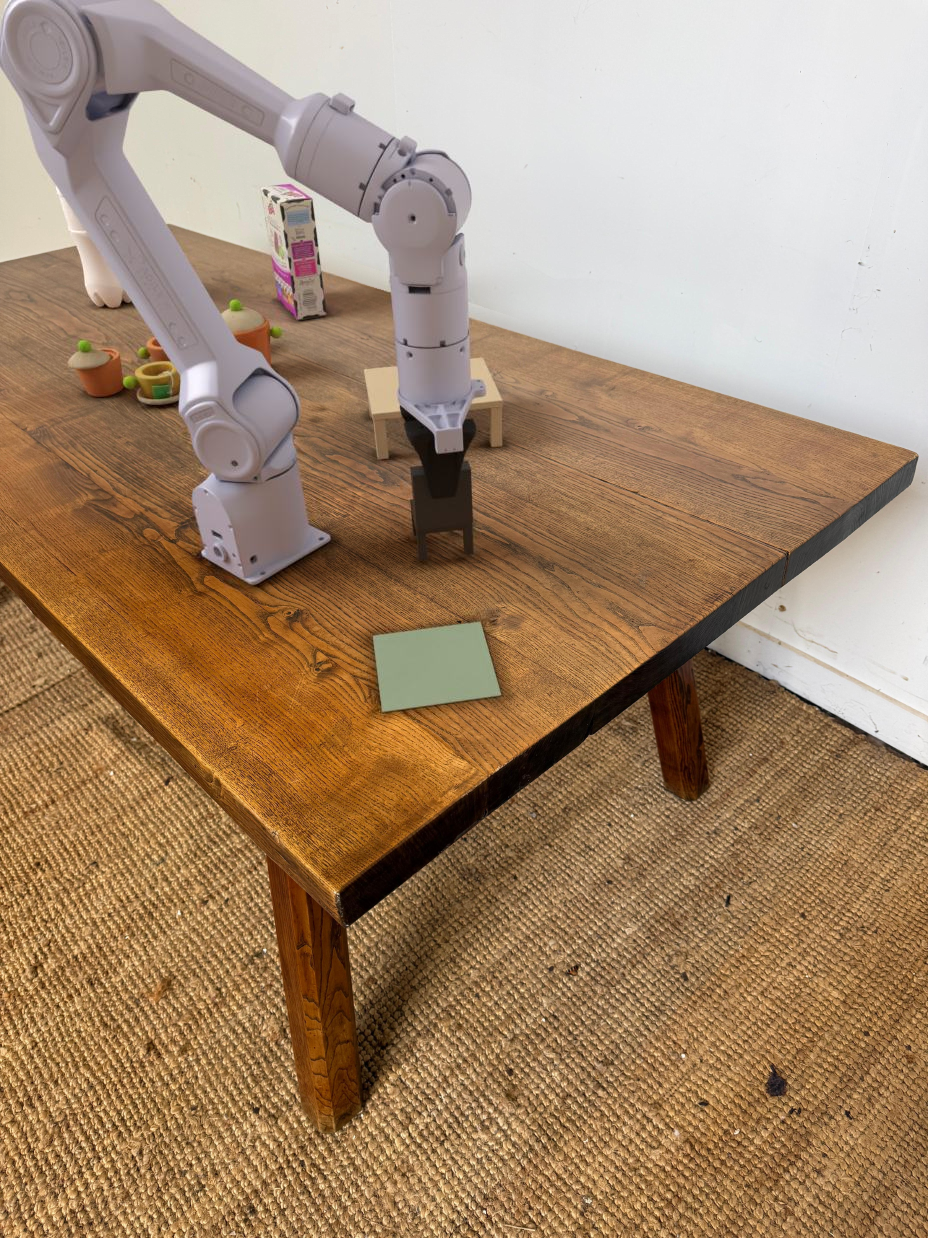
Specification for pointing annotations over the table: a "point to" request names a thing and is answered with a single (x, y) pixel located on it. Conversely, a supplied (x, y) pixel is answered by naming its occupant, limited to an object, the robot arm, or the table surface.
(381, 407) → the side table
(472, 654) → the mat
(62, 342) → the table surface
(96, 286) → the water bottle
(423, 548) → the toy chair
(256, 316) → the toy tea set
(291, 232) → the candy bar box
